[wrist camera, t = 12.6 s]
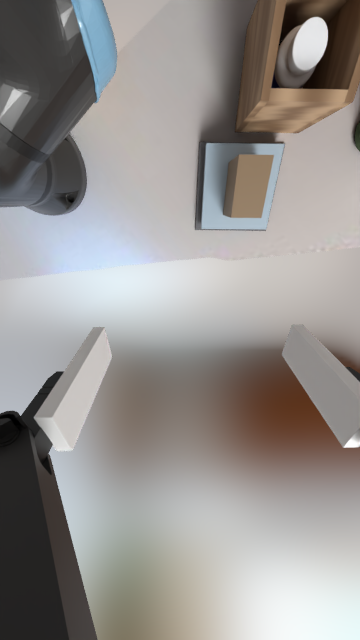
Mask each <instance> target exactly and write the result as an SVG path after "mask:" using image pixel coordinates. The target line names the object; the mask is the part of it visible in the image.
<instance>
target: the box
mask: <svg viewBox="0 0 360 640" xmlns="http://www.w3.org/2000/svg"><path fill="white" fill-rule="evenodd" d="M312 17H320V18H322V19H323V20H324V21H325V23H326V25H327V29H328V41H327V46H326V49H325V51H324V54H323V56H322V58H321V59H320V61H319V62H318V63H317V65H316V67H315V70H314V72H313V73H312V75H311V77H310V78H309V79H308V80H307V82H306V83H305V84H304V85H303V89H287V88H271V86H272V80H273V74H274V68H275V63H276V57H277V51H278V45H279V40H284V39H285V37H286V36H287V35H288V33H289V32H290V31H291V30H293V29H294V28H295V27H297V26H299V25H302V24H303V23H304V22H306V21H307V20H308V19H310V18H312ZM359 82H360V0H258V1H257V4H256V6H255V9H254V12H253V14H252V17H251V19H250V22H249V24H248V27H247V33H246V41H245V50H244V58H243V67H242V75H241V84H240V92H239V101H238V109H237V118H236V126H235V132H269V133H299V132H301V131H303V130H304V129H306V128H308V127H310V126H311V125H313V124H315V123H317V122H319V121H320V120H322V119H324V118H326V117H327V116H329V115H331V114H333V113H334V112H336V111H338V110H340V109H342V108H343V107H345V106H347V105H349V104H350V103H352V102H353V100H354V97H355V94H356V91H357V88H358V85H359Z"/></svg>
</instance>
